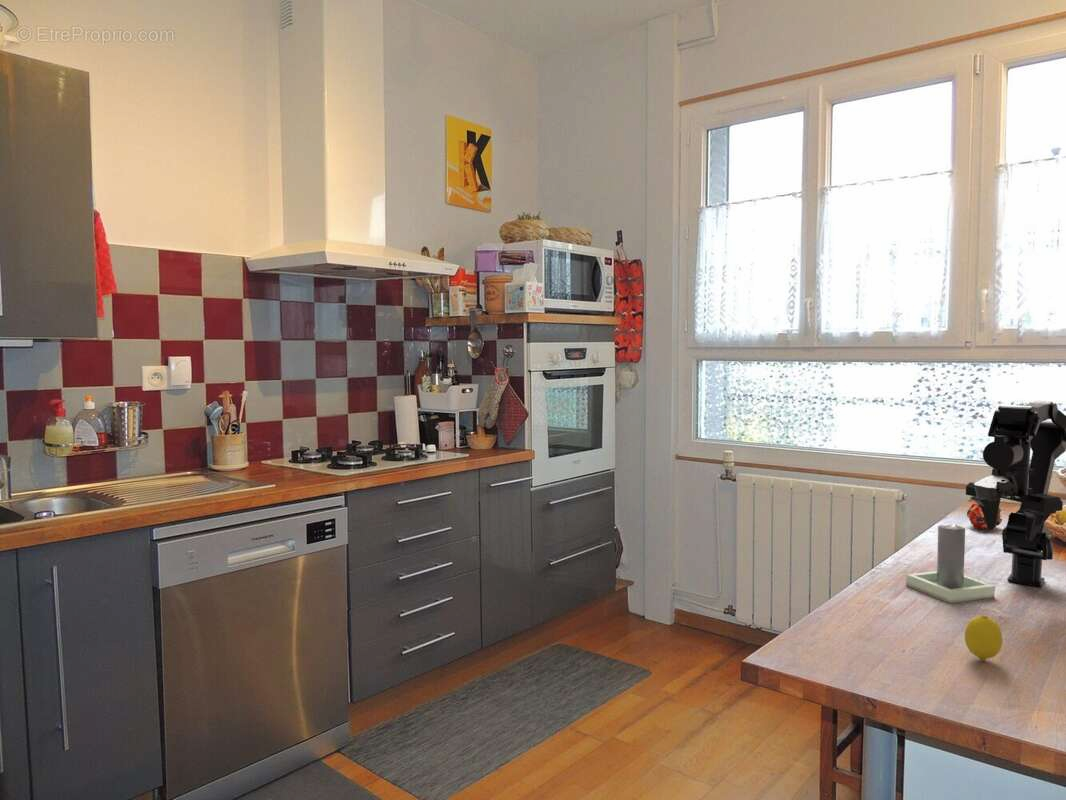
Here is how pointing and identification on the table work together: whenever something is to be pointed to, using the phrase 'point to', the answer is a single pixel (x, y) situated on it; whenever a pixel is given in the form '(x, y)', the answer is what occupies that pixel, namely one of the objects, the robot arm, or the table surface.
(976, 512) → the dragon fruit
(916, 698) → the table surface
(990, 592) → the sage dish
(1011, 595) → the table surface
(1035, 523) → the robot arm
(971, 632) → the lemon
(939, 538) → the grey can
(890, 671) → the table surface
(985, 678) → the table surface
